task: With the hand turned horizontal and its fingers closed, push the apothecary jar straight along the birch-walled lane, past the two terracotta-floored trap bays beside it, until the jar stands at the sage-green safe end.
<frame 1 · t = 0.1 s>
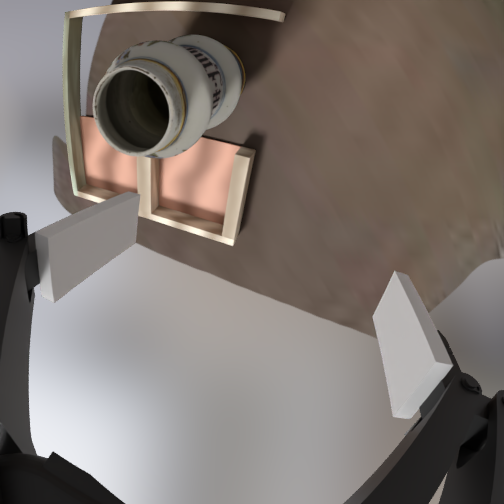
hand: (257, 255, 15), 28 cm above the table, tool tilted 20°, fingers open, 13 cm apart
apothecary jar: (209, 76, 35), on the table
trap box: (162, 70, 35), on the table
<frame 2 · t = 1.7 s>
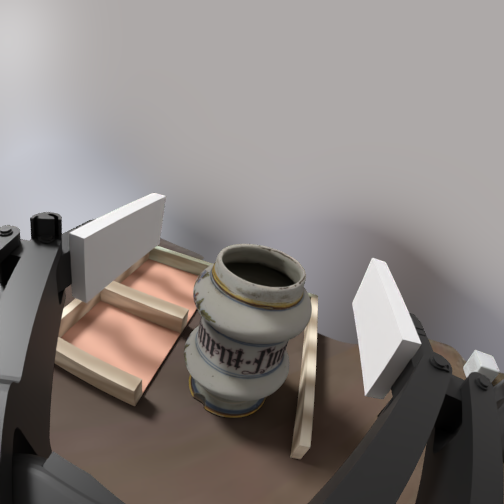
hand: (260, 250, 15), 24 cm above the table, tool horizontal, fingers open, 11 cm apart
apothecary jar: (227, 387, 36), on the table
small box: (473, 379, 45), on the table
trap box: (240, 352, 42), on the table
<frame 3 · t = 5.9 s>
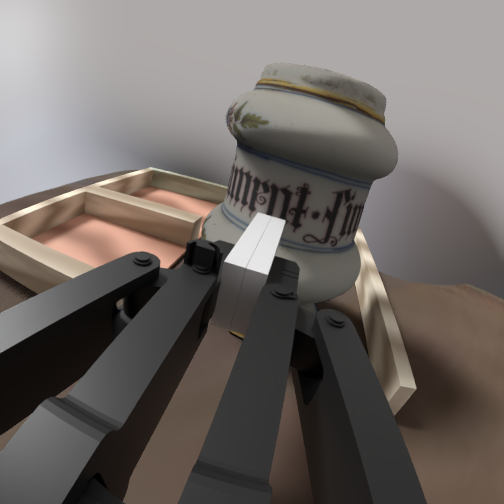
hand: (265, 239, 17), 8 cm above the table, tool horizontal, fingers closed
apothecary jar: (262, 308, 25), on the table, touching gripper
trap box: (274, 274, 31), on the table
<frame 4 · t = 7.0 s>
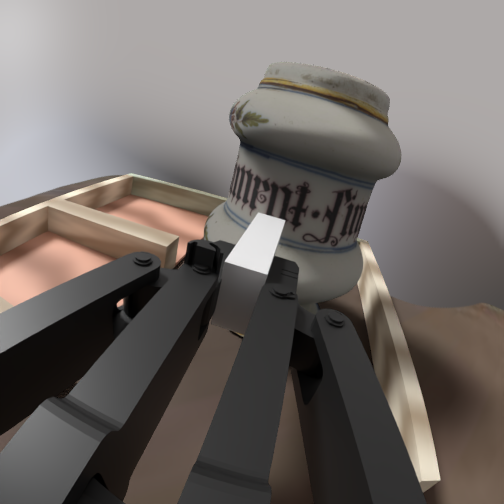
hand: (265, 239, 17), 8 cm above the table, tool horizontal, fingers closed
apothecary jar: (264, 307, 25), on the table
trap box: (267, 310, 25), on the table
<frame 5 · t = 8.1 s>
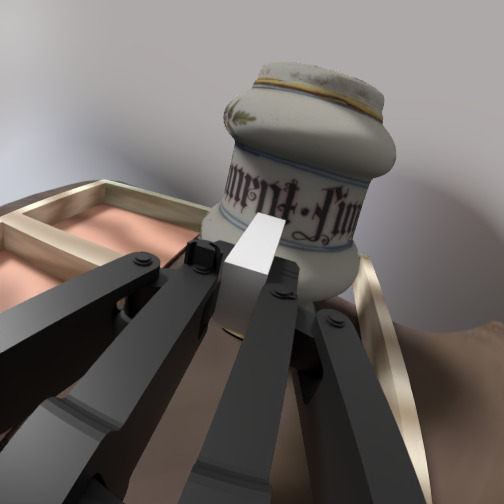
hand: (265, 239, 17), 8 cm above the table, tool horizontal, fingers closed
apothecary jar: (261, 308, 25), on the table, touching gripper
trap box: (243, 351, 20), on the table
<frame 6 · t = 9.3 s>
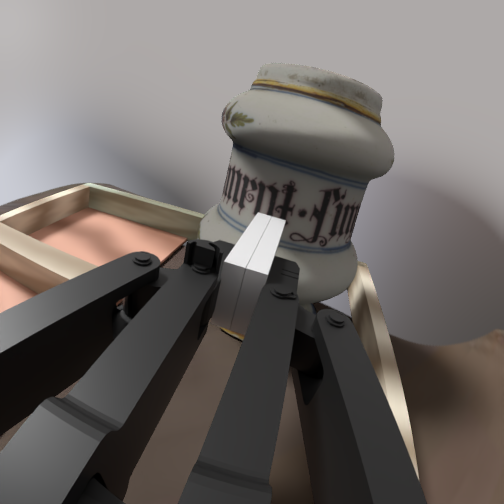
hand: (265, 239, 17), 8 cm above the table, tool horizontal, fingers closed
apothecary jar: (259, 308, 25), on the table, touching gripper
trap box: (225, 374, 18), on the table
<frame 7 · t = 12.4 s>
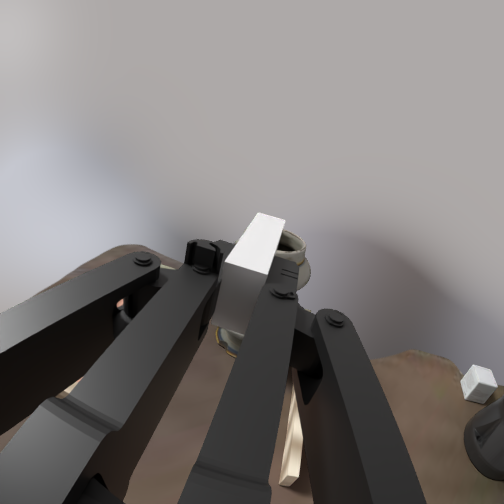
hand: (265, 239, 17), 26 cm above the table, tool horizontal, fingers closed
apothecary jar: (246, 340, 48), on the table
small box: (471, 393, 43), on the table
trap box: (229, 374, 40), on the table
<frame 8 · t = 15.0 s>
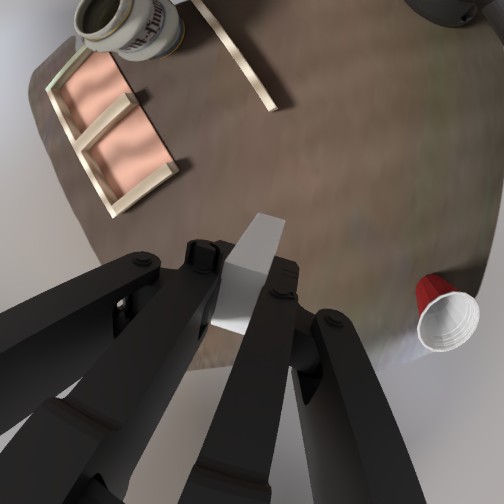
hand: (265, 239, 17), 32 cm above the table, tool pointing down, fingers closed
apothecary jar: (159, 35, 41), on the table
plastic cup: (428, 287, 49), on the table
trap box: (177, 70, 43), on the table
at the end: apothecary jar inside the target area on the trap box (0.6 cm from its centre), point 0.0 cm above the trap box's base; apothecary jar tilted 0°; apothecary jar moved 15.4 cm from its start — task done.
